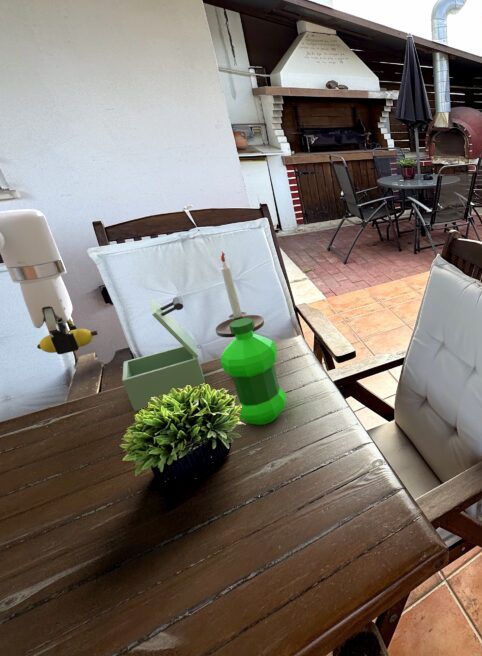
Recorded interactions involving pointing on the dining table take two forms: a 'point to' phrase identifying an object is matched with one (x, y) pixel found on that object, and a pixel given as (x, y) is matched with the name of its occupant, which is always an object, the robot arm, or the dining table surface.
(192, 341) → the lid
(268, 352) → the plastic bottle
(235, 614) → the dining table surface
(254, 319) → the candlestick
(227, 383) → the dining table surface
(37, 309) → the robot arm
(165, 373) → the chest
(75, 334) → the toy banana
